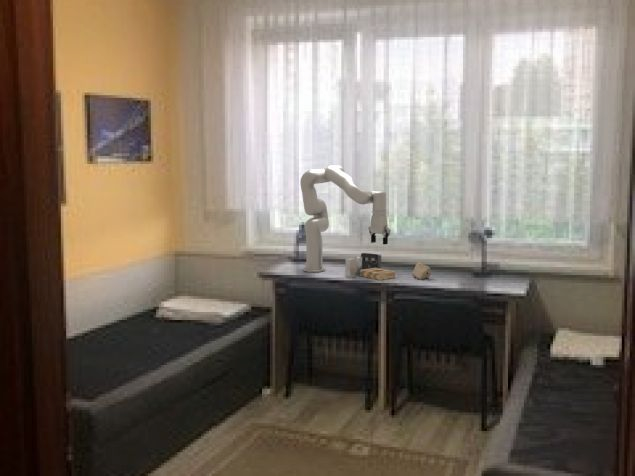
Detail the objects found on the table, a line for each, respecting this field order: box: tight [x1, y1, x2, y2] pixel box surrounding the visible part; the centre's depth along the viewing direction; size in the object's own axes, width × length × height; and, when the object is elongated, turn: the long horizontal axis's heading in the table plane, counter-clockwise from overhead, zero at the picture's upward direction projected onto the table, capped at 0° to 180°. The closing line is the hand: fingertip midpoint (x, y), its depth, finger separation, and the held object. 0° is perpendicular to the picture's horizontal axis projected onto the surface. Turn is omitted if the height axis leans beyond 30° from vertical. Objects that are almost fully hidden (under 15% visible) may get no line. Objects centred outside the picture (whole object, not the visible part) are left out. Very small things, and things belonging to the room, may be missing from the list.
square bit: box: [344, 257, 356, 278], centre depth 390 cm, size 4×4×10 cm
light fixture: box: [360, 252, 382, 270], centre depth 408 cm, size 11×13×11 cm
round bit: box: [354, 256, 362, 276], centre depth 396 cm, size 4×4×10 cm
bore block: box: [359, 268, 396, 281], centre depth 388 cm, size 16×12×4 cm
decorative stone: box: [411, 261, 432, 280], centre depth 386 cm, size 8×14×8 cm, turn 19°
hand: (379, 243), depth 387 cm, fingers open, 9 cm apart
